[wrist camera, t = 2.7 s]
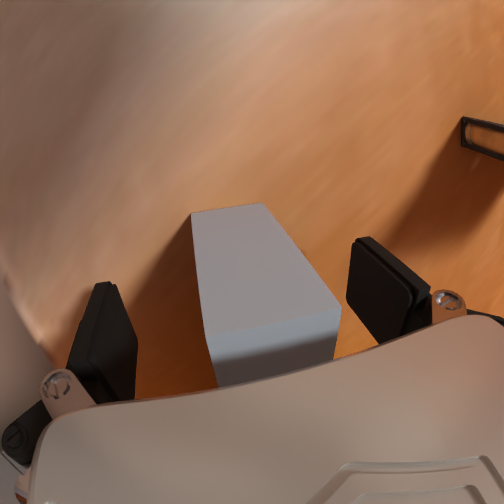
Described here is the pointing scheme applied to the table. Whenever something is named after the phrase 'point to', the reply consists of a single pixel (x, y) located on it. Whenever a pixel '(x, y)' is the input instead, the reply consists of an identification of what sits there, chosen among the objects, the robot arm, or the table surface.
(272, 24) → the table surface
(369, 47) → the table surface
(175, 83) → the table surface
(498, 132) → the ammunition clip
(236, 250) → the grey block
